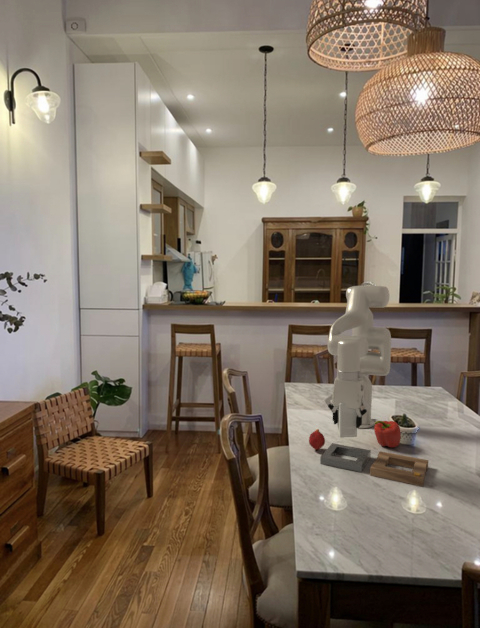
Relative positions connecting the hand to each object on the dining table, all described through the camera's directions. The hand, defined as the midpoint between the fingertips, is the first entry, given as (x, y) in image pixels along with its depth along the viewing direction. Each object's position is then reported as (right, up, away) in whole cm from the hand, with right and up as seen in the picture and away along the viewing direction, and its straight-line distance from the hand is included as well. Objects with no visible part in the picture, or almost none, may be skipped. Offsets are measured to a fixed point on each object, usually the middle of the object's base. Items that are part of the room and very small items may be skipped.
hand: (347, 424), depth 157 cm
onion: (-9, -12, +10) cm, 18 cm away
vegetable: (+18, -12, +14) cm, 26 cm away
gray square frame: (0, -13, +1) cm, 13 cm away
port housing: (+16, -14, -8) cm, 22 cm away
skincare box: (0, -4, 0) cm, 4 cm away
